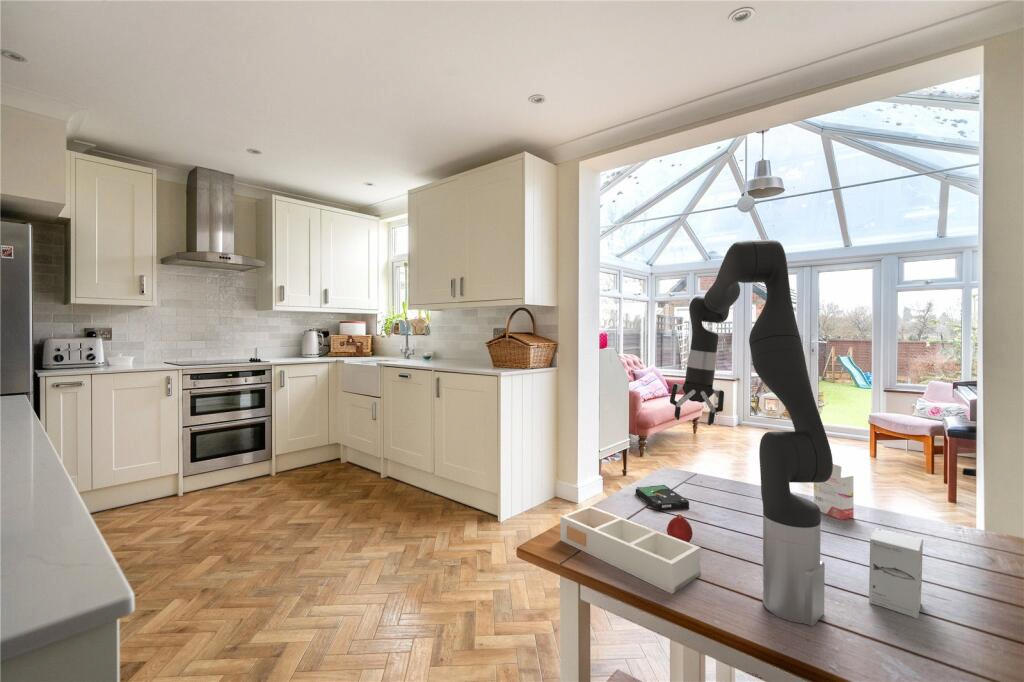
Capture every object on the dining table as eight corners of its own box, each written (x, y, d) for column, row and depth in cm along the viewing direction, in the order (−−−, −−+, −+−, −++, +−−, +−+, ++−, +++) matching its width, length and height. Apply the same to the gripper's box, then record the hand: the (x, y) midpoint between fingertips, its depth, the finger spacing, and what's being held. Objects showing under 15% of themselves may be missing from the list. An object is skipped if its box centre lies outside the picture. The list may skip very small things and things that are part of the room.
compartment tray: (700, 575, 99) (700, 547, 99) (670, 594, 92) (670, 564, 92) (590, 528, 123) (589, 505, 123) (559, 540, 116) (559, 516, 116)
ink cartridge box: (854, 518, 128) (855, 465, 128) (841, 520, 127) (841, 466, 126) (825, 506, 136) (825, 457, 136) (812, 509, 135) (812, 458, 134)
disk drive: (690, 510, 136) (664, 492, 151) (690, 501, 136) (664, 484, 151) (657, 513, 134) (634, 494, 149) (657, 504, 134) (634, 486, 149)
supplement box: (867, 603, 89) (868, 537, 88) (874, 588, 94) (874, 526, 93) (919, 620, 83) (919, 550, 83) (922, 603, 88) (923, 537, 88)
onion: (670, 539, 116) (670, 507, 116) (694, 544, 113) (694, 511, 113) (664, 548, 111) (664, 515, 111) (690, 554, 108) (690, 520, 108)
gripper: (675, 364, 132) (667, 420, 133) (729, 371, 128) (721, 429, 129) (674, 362, 139) (667, 415, 140) (726, 369, 135) (718, 424, 136)
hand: (693, 422), depth 134 cm, fingers open, 8 cm apart
